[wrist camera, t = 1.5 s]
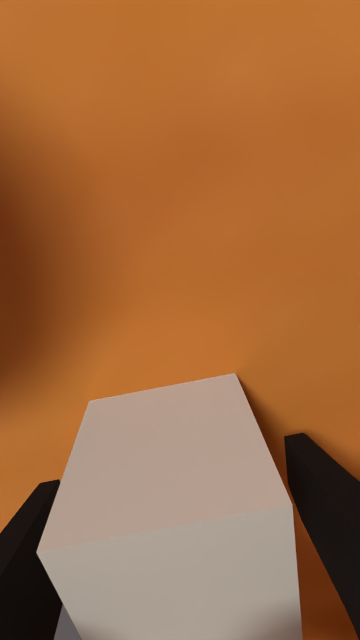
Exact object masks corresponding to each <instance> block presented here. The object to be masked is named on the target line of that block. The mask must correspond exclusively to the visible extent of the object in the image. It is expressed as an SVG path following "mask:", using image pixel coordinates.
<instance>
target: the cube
mask: <svg viewBox="0 0 360 640" xmlns="http://www.w3.org/2000/svg"><path fill="white" fill-rule="evenodd" d="M36 553H37V555H38V557H39V558H40V560H41V562H42V564H43V566H44V568H45V570H46V572H47V574H48V576H49V578H50V579H51V581H52V583H53V585H54V587H55V589H56V591H57V593H58V595H59V597H60V599H61V601H62V602H63V604H64V606H65V608H66V610H67V612H68V614H69V616H70V618H71V620H72V622H73V623H74V625H75V627H76V629H77V631H78V633H79V635H80V637H81V639H82V640H303V636H302V623H301V610H300V598H299V585H298V572H297V559H296V546H295V533H294V520H293V508H292V503H291V500H290V498H289V496H288V494H287V491H286V489H285V487H284V484H283V482H282V480H281V477H280V475H279V473H278V470H277V468H276V466H275V463H274V461H273V459H272V456H271V454H270V452H269V449H268V447H267V445H266V442H265V440H264V438H263V436H262V433H261V431H260V429H259V426H258V424H257V422H256V419H255V417H254V415H253V412H252V410H251V408H250V405H249V403H248V401H247V398H246V396H245V394H244V391H243V389H242V387H241V385H240V382H239V380H238V378H237V375H236V373H233V374H228V375H223V376H218V377H213V378H207V379H202V380H197V381H192V382H186V383H181V384H176V385H171V386H165V387H160V388H155V389H150V390H145V391H139V392H134V393H129V394H124V395H118V396H113V397H108V398H103V399H97V400H92V401H89V403H88V406H87V409H86V411H85V414H84V417H83V420H82V423H81V426H80V429H79V431H78V434H77V437H76V440H75V443H74V446H73V449H72V451H71V454H70V457H69V460H68V463H67V466H66V469H65V471H64V474H63V477H62V480H61V483H60V486H59V489H58V491H57V494H56V497H55V500H54V503H53V506H52V509H51V511H50V514H49V517H48V520H47V523H46V526H45V529H44V531H43V534H42V537H41V540H40V543H39V546H38V549H37V551H36Z"/></svg>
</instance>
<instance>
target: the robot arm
mask: <svg viewBox="0 0 360 640" xmlns="http://www.w3.org/2000/svg"><path fill="white" fill-rule="evenodd" d="M284 441H285V453H286V465H287V477H288V486H289V488H290V491H291V494H292V496H293V499H294V502H295V504H296V507H297V509H298V512H299V515H300V517H301V520H302V522H303V524H304V526H305V528H306V530H307V532H308V534H309V536H310V538H311V540H312V542H313V544H314V546H315V548H316V550H317V552H318V554H319V556H320V558H321V560H322V562H323V564H324V566H325V568H326V570H327V572H328V574H329V576H330V578H331V580H332V582H333V584H334V586H335V588H336V590H337V592H338V594H339V596H340V598H341V600H342V602H343V604H344V606H345V608H346V611H347V613H348V615H349V617H350V619H351V621H352V624H353V626H354V628H355V631H356V633H357V635H358V638H359V640H360V481H358V480H357V479H356V478H355V477H353V476H352V475H351V474H350V473H349V472H347V471H346V470H345V469H344V468H343V467H342V466H340V465H339V464H338V463H337V462H336V461H335V460H334V459H332V458H331V457H330V456H329V455H328V454H327V453H326V452H325V451H323V450H322V449H321V448H320V447H319V446H318V445H317V444H316V443H315V442H314V441H313V440H312V439H310V438H309V437H308V436H307V435H306V434H304V433H300V434H294V435H289V436H284ZM59 486H60V481H59V479H58V480H53V481H48V482H43V483H40V484H39V485H38V486H37V487H36V489H35V490H34V491H33V492H32V494H31V495H30V496H29V497H28V499H27V500H26V501H25V503H24V504H23V505H22V506H21V508H20V509H19V510H18V512H17V513H16V514H15V515H14V517H13V518H12V519H11V521H10V522H9V523H8V524H7V526H6V527H5V528H4V529H3V531H2V532H1V533H0V640H54V637H55V633H56V629H57V625H58V621H59V617H60V613H61V609H62V605H63V602H62V601H61V599H60V597H59V595H58V593H57V591H56V589H55V587H54V585H53V583H52V581H51V579H50V578H49V576H48V574H47V572H46V570H45V568H44V566H43V564H42V562H41V560H40V558H39V557H38V555H37V553H36V551H37V549H38V546H39V543H40V540H41V537H42V534H43V531H44V529H45V526H46V523H47V520H48V517H49V514H50V511H51V509H52V506H53V503H54V500H55V497H56V494H57V491H58V489H59Z"/></svg>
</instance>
